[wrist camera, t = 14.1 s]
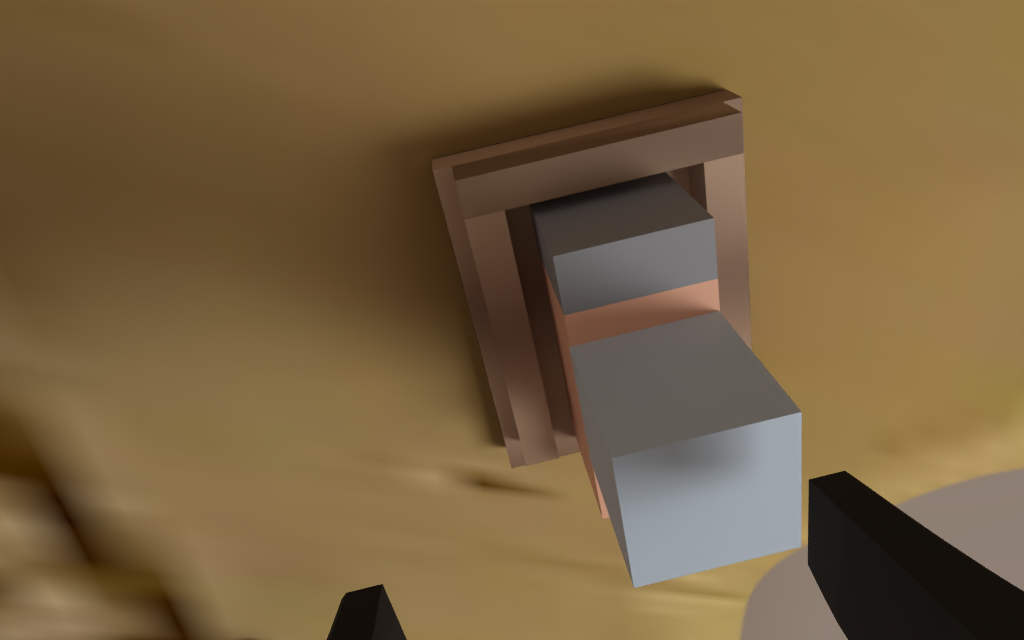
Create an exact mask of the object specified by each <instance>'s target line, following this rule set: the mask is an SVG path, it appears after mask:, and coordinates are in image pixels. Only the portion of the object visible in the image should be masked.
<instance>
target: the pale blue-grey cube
mask: <svg viewBox="0 0 1024 640" xmlns="http://www.w3.org/2000/svg"><path fill="white" fill-rule="evenodd" d="M569 349H570V355H571V360H572V365H573V370H574V375H575V381H576V386H577V391H578V396H579V402H580V407H581V412H582V417H583V422H584V428H585V433H586V438H587V443H588V449H589V454H590V459H591V464H592V467H593V469H594V472H595V475H596V478H597V481H598V484H599V487H600V490H601V493H602V496H603V499H604V502H605V505H606V508H607V510H608V513H609V516H610V519H611V522H612V525H613V528H614V531H615V534H616V537H617V540H618V543H619V546H620V549H621V551H622V554H623V557H624V560H625V563H626V566H627V569H628V572H629V575H630V578H631V581H632V584H633V587H634V588H636V587H640V586H644V585H648V584H652V583H656V582H660V581H665V580H669V579H673V578H677V577H681V576H685V575H689V574H693V573H697V572H701V571H705V570H709V569H713V568H717V567H721V566H725V565H730V564H734V563H738V562H742V561H746V560H750V559H754V558H758V557H762V556H766V555H770V554H774V553H778V552H782V551H786V550H790V549H795V548H799V547H801V442H802V412H801V411H800V409H799V408H798V407H797V406H796V404H795V403H794V402H793V401H792V400H791V398H790V397H789V396H788V395H787V393H786V392H785V391H784V390H783V389H782V387H781V386H780V385H779V384H778V382H777V381H776V380H775V379H774V377H773V376H772V375H771V374H770V373H769V371H768V370H767V369H766V368H765V366H764V365H763V364H762V363H761V362H760V360H759V359H758V358H757V357H756V355H755V354H754V353H753V352H752V350H751V349H750V348H749V347H748V346H747V344H746V343H745V342H744V341H743V339H742V338H741V337H740V336H739V335H738V333H737V332H736V331H735V330H734V328H733V327H732V326H731V325H730V324H729V322H728V321H727V320H726V319H725V317H724V316H723V315H722V314H721V312H720V311H716V312H712V313H708V314H704V315H699V316H695V317H691V318H687V319H683V320H679V321H675V322H670V323H666V324H662V325H658V326H654V327H650V328H646V329H642V330H637V331H633V332H629V333H625V334H621V335H617V336H613V337H608V338H604V339H600V340H596V341H592V342H588V343H584V344H579V345H575V346H571V347H569Z"/></svg>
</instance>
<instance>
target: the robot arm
mask: <svg viewBox="0 0 1024 640" xmlns="http://www.w3.org/2000/svg"><path fill="white" fill-rule="evenodd" d="M808 565H809V567H810V569H811V572H812V574H813V576H814V578H815V580H816V582H817V584H818V586H819V588H820V590H821V592H822V594H823V596H824V598H825V600H826V602H827V604H828V605H829V607H830V609H831V611H832V613H833V615H834V617H835V619H836V621H837V623H838V624H839V626H840V627H841V629H842V630H843V632H844V634H845V635H846V637H847V638H848V640H1024V591H1022V590H1021V589H1019V588H1017V587H1016V586H1014V585H1012V584H1011V583H1009V582H1008V581H1006V580H1004V579H1003V578H1001V577H1000V576H998V575H997V574H995V573H993V572H992V571H990V570H989V569H987V568H985V567H984V566H982V565H981V564H979V563H978V562H976V561H975V560H973V559H972V558H970V557H969V556H967V555H966V554H964V553H963V552H961V551H960V550H958V549H957V548H955V547H953V546H952V545H950V544H949V543H947V542H946V541H944V540H943V539H941V538H940V537H939V536H937V535H936V534H934V533H932V532H931V531H930V530H928V529H927V528H925V527H924V526H923V525H921V524H920V523H918V522H917V521H915V520H914V519H913V518H911V517H910V516H908V515H907V514H905V513H904V512H902V511H901V510H900V509H898V508H897V507H896V506H894V505H893V504H891V503H890V502H888V501H887V500H886V499H884V498H883V497H881V496H880V495H879V494H877V493H876V492H874V491H873V490H872V489H870V488H869V487H867V486H866V485H865V484H863V483H862V482H860V481H859V480H858V479H856V478H855V477H853V476H852V475H850V474H849V473H847V472H846V471H842V472H838V473H834V474H830V475H826V476H822V477H818V478H814V479H809V514H808ZM327 640H407V639H406V637H405V635H404V633H403V630H402V628H401V626H400V623H399V621H398V619H397V616H396V614H395V612H394V609H393V607H392V605H391V603H390V600H389V598H388V596H387V593H386V591H385V589H384V586H383V584H381V585H377V586H373V587H369V588H364V589H360V590H356V591H352V592H348V593H346V594H345V595H344V597H343V598H342V600H341V603H340V605H339V608H338V611H337V614H336V617H335V619H334V622H333V625H332V627H331V630H330V633H329V635H328V638H327Z"/></svg>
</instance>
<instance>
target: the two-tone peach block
mask: <svg viewBox="0 0 1024 640" xmlns="http://www.w3.org/2000/svg"><path fill="white" fill-rule="evenodd" d="M529 206H530V211H531V216H532V221H533V226H534V231H535V236H536V241H537V246H538V251H539V256H540V261H541V266H542V271H543V276H544V281H545V286H546V291H547V296H548V301H549V306H550V311H551V316H552V321H553V326H554V331H555V336H556V341H557V346H558V351H559V356H560V361H561V366H562V371H563V376H564V381H565V386H566V391H567V396H568V401H569V406H570V411H571V416H572V421H573V425H574V430H575V435H576V439H577V442H578V445H579V448H580V451H581V454H582V457H583V460H584V463H585V466H586V470H587V473H588V476H589V479H590V482H591V485H592V488H593V491H594V494H595V497H596V500H597V503H598V506H599V509H600V512H601V515H602V518H603V519H605V518H609V517H610V516H609V513H608V510H607V508H606V505H605V502H604V499H603V496H602V493H601V490H600V487H599V484H598V481H597V478H596V475H595V472H594V469H593V467H592V464H591V459H590V454H589V449H588V443H587V438H586V433H585V428H584V422H583V417H582V412H581V407H580V402H579V396H578V391H577V386H576V381H575V375H574V370H573V365H572V360H571V355H570V349H569V347H571V346H575V345H579V344H584V343H588V342H592V341H596V340H600V339H604V338H608V337H613V336H617V335H621V334H625V333H629V332H633V331H637V330H642V329H646V328H650V327H654V326H658V325H662V324H666V323H670V322H675V321H679V320H683V319H687V318H691V317H695V316H699V315H704V314H708V313H712V312H716V311H720V303H719V287H718V271H717V255H716V240H715V224H714V217H713V216H712V215H711V214H710V213H708V212H707V211H706V210H705V209H704V208H703V207H702V206H701V205H700V204H699V203H698V202H697V201H696V200H695V199H694V198H692V197H691V196H690V195H689V194H688V193H687V192H686V191H685V190H684V189H683V188H682V187H681V186H680V185H679V184H678V183H677V182H675V181H674V180H673V179H672V178H671V177H670V176H669V175H668V174H667V173H666V172H663V173H659V174H654V175H650V176H646V177H642V178H638V179H633V180H629V181H625V182H621V183H617V184H613V185H608V186H604V187H600V188H596V189H592V190H587V191H583V192H579V193H575V194H571V195H567V196H562V197H558V198H554V199H550V200H546V201H541V202H537V203H533V204H529Z"/></svg>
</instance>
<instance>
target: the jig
mask: <svg viewBox="0 0 1024 640" xmlns="http://www.w3.org/2000/svg"><path fill="white" fill-rule="evenodd" d="M432 170H433V174H434V178H435V182H436V186H437V189H438V193H439V197H440V201H441V204H442V208H443V212H444V216H445V219H446V223H447V227H448V231H449V234H450V238H451V242H452V246H453V249H454V253H455V257H456V261H457V264H458V268H459V272H460V276H461V279H462V283H463V287H464V291H465V294H466V298H467V302H468V306H469V309H470V313H471V317H472V321H473V324H474V328H475V332H476V336H477V340H478V343H479V347H480V351H481V355H482V358H483V362H484V366H485V370H486V373H487V377H488V381H489V385H490V388H491V392H492V396H493V400H494V403H495V407H496V411H497V415H498V418H499V422H500V426H501V430H502V433H503V437H504V441H505V445H506V448H507V452H508V456H509V460H510V463H511V467H512V468H515V467H519V466H523V465H526V466H528V465H532V464H536V463H540V462H544V461H548V460H552V459H556V458H559V457H560V456H564V455H568V454H572V453H576V452H580V448H579V445H578V442H577V439H576V435H575V430H574V425H573V421H572V416H571V411H570V406H569V401H568V396H567V391H566V386H565V381H564V376H563V371H562V366H561V361H560V356H559V351H558V346H557V341H556V336H555V331H554V326H553V321H552V316H551V311H550V306H549V301H548V296H547V291H546V286H545V281H544V276H543V271H542V266H541V261H540V256H539V251H538V246H537V241H536V236H535V231H534V226H533V221H532V216H531V211H530V206H529V204H533V203H537V202H541V201H546V200H550V199H554V198H558V197H562V196H567V195H571V194H575V193H579V192H583V191H587V190H592V189H596V188H600V187H604V186H608V185H613V184H617V183H621V182H625V181H629V180H633V179H638V178H642V177H646V176H650V175H654V174H659V173H663V172H666V173H667V174H668V175H669V176H670V177H671V178H672V179H673V180H674V181H675V182H677V183H678V184H679V185H680V186H681V187H682V188H683V189H684V190H685V191H686V192H687V193H688V194H689V195H690V196H691V197H692V198H694V199H695V200H696V201H697V202H698V203H699V204H700V205H701V206H702V207H703V208H704V209H705V210H706V211H707V212H708V213H710V214H711V215H712V216H713V217H714V224H715V240H716V255H717V271H718V287H719V303H720V312H721V314H722V315H723V316H724V317H725V319H726V320H727V321H728V322H729V324H730V325H731V326H732V327H733V328H734V330H735V331H736V332H737V333H738V335H739V336H740V337H741V338H742V339H743V341H744V342H745V343H746V344H747V346H748V347H749V348H750V349H751V350H752V346H751V320H750V294H749V268H748V242H747V216H746V190H745V164H744V138H743V111H742V97H740V96H738V95H736V94H734V93H732V92H730V91H728V90H723V91H719V92H714V93H710V94H706V95H702V96H698V97H693V98H689V99H685V100H681V101H677V102H672V103H668V104H664V105H660V106H656V107H651V108H647V109H643V110H639V111H634V112H630V113H626V114H622V115H618V116H613V117H609V118H605V119H601V120H597V121H592V122H588V123H584V124H580V125H576V126H571V127H567V128H563V129H559V130H555V131H550V132H546V133H542V134H538V135H534V136H529V137H525V138H521V139H517V140H513V141H508V142H504V143H500V144H496V145H492V146H487V147H483V148H479V149H475V150H471V151H466V152H462V153H458V154H454V155H450V156H445V157H441V158H437V159H433V160H432Z"/></svg>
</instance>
